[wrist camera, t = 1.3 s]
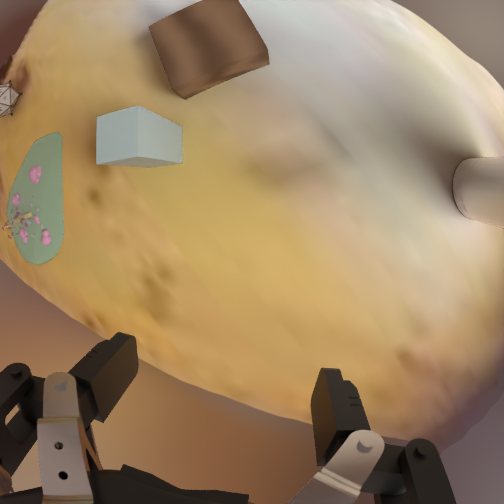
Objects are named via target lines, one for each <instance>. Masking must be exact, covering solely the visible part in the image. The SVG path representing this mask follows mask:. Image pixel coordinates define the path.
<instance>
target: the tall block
mask: <svg viewBox="0 0 504 504" xmlns="http://www.w3.org/2000/svg"><path fill="white" fill-rule="evenodd" d="M181 163H183V153H182V127H181V126H179V125H177V124H176V123H174V122H172V121H170V120H168V119H166V118H164V117H162V116H160V115H158V114H156V113H154V112H152V111H150V110H148V109H145V108H143V107H141V106H139V105H137V106H133V107H129V108H126V109H122V110H118V111H115V112H111V113H108V114H105V115H101V116H98V117H97V131H96V164H98V165H119V166H135V167H157V166H164V165H173V164H181Z"/></svg>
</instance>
